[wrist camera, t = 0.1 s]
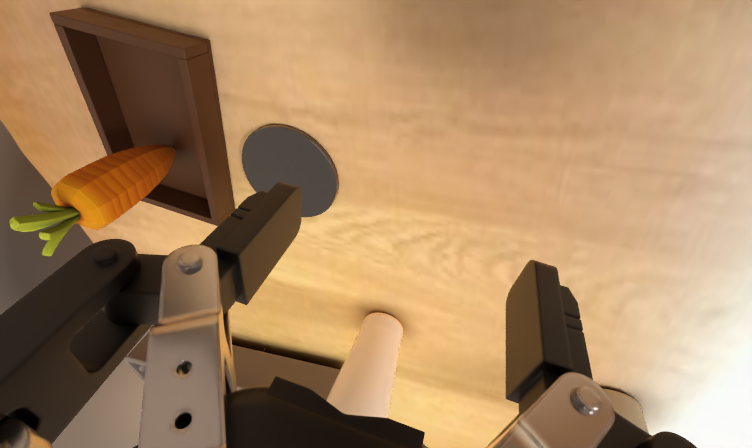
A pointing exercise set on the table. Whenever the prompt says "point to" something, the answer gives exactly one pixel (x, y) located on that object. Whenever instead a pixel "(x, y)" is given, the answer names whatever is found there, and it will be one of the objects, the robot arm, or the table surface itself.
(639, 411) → the travel mug
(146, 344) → the organizer tray
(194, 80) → the tray
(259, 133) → the metal coaster
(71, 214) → the carrot
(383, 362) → the drinking glass
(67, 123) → the table surface
